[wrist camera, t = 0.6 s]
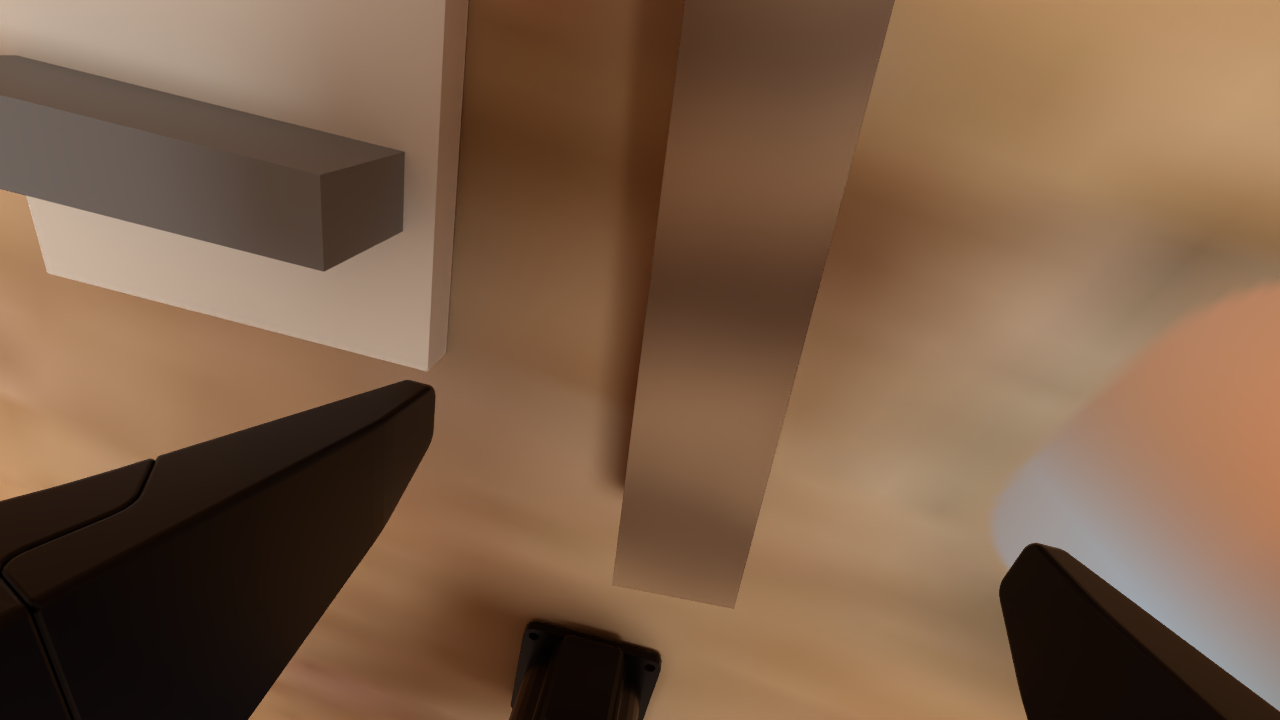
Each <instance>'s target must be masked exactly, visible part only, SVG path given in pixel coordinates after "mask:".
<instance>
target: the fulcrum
mask: <svg viewBox="0 0 1280 720" xmlns="http://www.w3.org/2000/svg"><path fill="white" fill-rule="evenodd" d="M468 5H469V0H0V189H2V190H6V191H10V192H14V193H18V194H22V195H26V197H27V201H28V204H29V208H30V212H31V215H32V219H33V222H34V226H35V230H36V233H37V237H38V241H39V244H40V248H41V252H42V255H43V259H44V262H45V266H46V270H47V273H49V274H53V275H57V276H60V277H64V278H68V279H72V280H76V281H80V282H84V283H87V284H91V285H95V286H99V287H103V288H107V289H111V290H114V291H118V292H122V293H126V294H130V295H134V296H138V297H141V298H145V299H149V300H153V301H157V302H161V303H165V304H168V305H172V306H176V307H180V308H184V309H188V310H192V311H195V312H199V313H203V314H207V315H211V316H215V317H219V318H222V319H226V320H230V321H234V322H238V323H242V324H246V325H249V326H253V327H257V328H261V329H265V330H269V331H272V332H276V333H280V334H284V335H288V336H292V337H296V338H299V339H303V340H307V341H311V342H315V343H319V344H323V345H326V346H330V347H334V348H338V349H342V350H346V351H350V352H353V353H357V354H361V355H365V356H369V357H373V358H377V359H380V360H384V361H388V362H392V363H396V364H400V365H404V366H407V367H411V368H415V369H419V370H423V371H427V372H428V371H429V370H430V369H431V368H432V367H433V366H434V365H435V364H436V363H437V362H438V361H439V360H440V359H441V358H442V357H443V356H444V355H445V354H446V349H447V333H448V317H449V302H450V286H451V270H452V255H453V239H454V224H455V208H456V192H457V177H458V161H459V146H460V130H461V114H462V99H463V83H464V67H465V52H466V36H467V21H468Z"/></svg>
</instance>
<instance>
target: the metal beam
mask: <svg viewBox="0 0 1280 720" xmlns="http://www.w3.org/2000/svg"><path fill="white" fill-rule="evenodd" d="M894 1H895V0H685V4H684V12H683V20H682V28H681V36H680V44H679V52H678V60H677V69H676V77H675V85H674V93H673V101H672V109H671V117H670V125H669V133H668V141H667V149H666V157H665V165H664V173H663V181H662V189H661V197H660V205H659V213H658V221H657V229H656V237H655V245H654V253H653V261H652V269H651V277H650V285H649V293H648V302H647V310H646V318H645V326H644V334H643V342H642V350H641V358H640V366H639V374H638V382H637V390H636V398H635V406H634V414H633V422H632V430H631V438H630V446H629V454H628V462H627V470H626V478H625V486H624V494H623V502H622V510H621V518H620V526H619V535H618V543H617V551H616V559H615V567H614V575H613V583H612V585H614V586H619V587H624V588H630V589H635V590H640V591H645V592H650V593H655V594H660V595H666V596H671V597H676V598H681V599H686V600H691V601H696V602H701V603H707V604H712V605H717V606H722V607H727V608H732V609H734V607H735V603H736V599H737V595H738V591H739V588H740V584H741V580H742V576H743V572H744V569H745V565H746V561H747V557H748V554H749V550H750V546H751V542H752V538H753V535H754V531H755V527H756V523H757V519H758V516H759V512H760V508H761V504H762V501H763V497H764V493H765V489H766V485H767V482H768V478H769V474H770V470H771V466H772V463H773V459H774V455H775V451H776V448H777V444H778V440H779V436H780V432H781V429H782V425H783V421H784V417H785V414H786V410H787V406H788V402H789V398H790V395H791V391H792V387H793V383H794V379H795V376H796V372H797V368H798V364H799V361H800V357H801V353H802V349H803V345H804V342H805V338H806V334H807V330H808V326H809V323H810V319H811V315H812V311H813V308H814V304H815V300H816V296H817V292H818V289H819V285H820V281H821V277H822V274H823V270H824V266H825V262H826V258H827V255H828V251H829V247H830V243H831V239H832V236H833V232H834V228H835V224H836V221H837V217H838V213H839V209H840V205H841V202H842V198H843V194H844V190H845V186H846V183H847V179H848V175H849V171H850V168H851V164H852V160H853V156H854V152H855V149H856V145H857V141H858V137H859V134H860V130H861V126H862V122H863V118H864V115H865V111H866V107H867V103H868V99H869V96H870V92H871V88H872V84H873V81H874V77H875V73H876V69H877V65H878V62H879V58H880V54H881V50H882V46H883V43H884V39H885V35H886V31H887V28H888V24H889V20H890V16H891V12H892V9H893V5H894Z"/></svg>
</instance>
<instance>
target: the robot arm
mask: <svg viewBox="0 0 1280 720" xmlns="http://www.w3.org/2000/svg"><path fill="white" fill-rule="evenodd" d="M434 414H435V390H434V388H433V387H432V386H430V385H427V384H423V383H419V382H415V381H411V380H404V381H401V382H398V383H395V384H391V385H388V386H385V387H382V388H378V389H375V390H372V391H369V392H365V393H362V394H359V395H356V396H352V397H349V398H346V399H343V400H339V401H336V402H333V403H330V404H326V405H323V406H320V407H317V408H313V409H310V410H307V411H304V412H300V413H297V414H294V415H290V416H287V417H284V418H281V419H277V420H274V421H271V422H268V423H264V424H261V425H258V426H255V427H251V428H248V429H245V430H242V431H238V432H235V433H232V434H229V435H225V436H222V437H219V438H216V439H212V440H209V441H206V442H203V443H199V444H196V445H193V446H190V447H186V448H183V449H180V450H177V451H173V452H170V453H167V454H164V455H160V456H158V457H157V459H156V460H154V459H147V460H144V461H140V462H137V463H134V464H131V465H128V466H124V467H121V468H118V469H115V470H111V471H108V472H104V473H101V474H98V475H94V476H91V477H87V478H84V479H80V480H77V481H74V482H70V483H67V484H63V485H60V486H56V487H52V488H49V489H45V490H41V491H37V492H33V493H30V494H26V495H22V496H18V497H14V498H10V499H7V500H3V501H0V720H248V719H249V718H250V716H251V715H252V713H253V712H254V711H255V709H256V708H257V706H258V705H259V703H260V702H261V701H262V699H263V698H264V696H265V695H266V694H267V692H268V691H269V689H270V688H271V687H272V685H273V684H274V682H275V681H276V680H277V678H278V677H279V675H280V674H281V673H282V671H283V670H284V668H285V667H286V666H287V664H288V663H289V661H290V660H291V659H292V657H293V656H294V654H295V653H296V652H297V650H298V649H299V647H300V646H301V644H302V643H303V642H304V640H305V639H306V637H307V636H308V635H309V633H310V632H311V630H312V629H313V628H314V626H315V625H316V623H317V622H318V621H319V619H320V618H321V616H322V615H323V614H324V612H325V611H326V609H327V608H328V607H329V605H330V604H331V602H332V601H333V600H334V598H335V597H336V595H337V594H338V593H339V591H340V590H341V588H342V587H343V585H344V584H345V583H346V581H347V580H348V578H349V577H350V576H351V574H352V573H353V571H354V570H355V569H356V567H357V566H358V564H359V563H360V562H361V560H362V559H363V557H364V556H365V555H366V553H367V552H368V550H369V549H370V548H371V546H372V545H373V543H374V542H375V540H376V539H377V537H378V536H379V534H380V533H381V531H382V530H383V528H384V527H385V525H386V523H387V522H388V520H389V518H390V516H391V515H392V513H393V511H394V509H395V507H396V506H397V504H398V502H399V500H400V498H401V497H402V495H403V493H404V491H405V489H406V487H407V486H408V484H409V482H410V480H411V478H412V477H413V475H414V473H415V471H416V469H417V467H418V466H419V464H420V462H421V460H422V458H423V457H424V455H425V453H426V451H427V449H428V447H429V445H430V443H431V440H432V436H433V430H434ZM999 597H1000V603H1001V607H1002V612H1003V617H1004V621H1005V626H1006V631H1007V635H1008V640H1009V645H1010V649H1011V654H1012V659H1013V663H1014V668H1015V672H1016V677H1017V682H1018V686H1019V690H1020V694H1021V698H1022V702H1023V705H1024V709H1025V712H1026V716H1027V719H1028V720H1280V712H1279V711H1278V710H1277V709H1275V708H1274V707H1273V706H1271V705H1270V704H1269V703H1268V702H1266V701H1265V700H1263V699H1262V698H1261V697H1260V696H1258V695H1257V694H1255V693H1254V692H1253V691H1252V690H1250V689H1249V688H1248V687H1246V686H1245V685H1244V684H1242V683H1241V682H1240V681H1238V680H1237V679H1235V678H1234V677H1233V676H1232V675H1230V674H1229V673H1227V672H1226V671H1225V670H1224V669H1222V668H1221V667H1219V666H1218V665H1217V664H1215V663H1214V662H1213V661H1211V660H1210V659H1209V658H1207V657H1206V656H1205V655H1203V654H1202V653H1201V652H1199V651H1198V650H1197V649H1195V648H1194V647H1193V646H1191V645H1190V644H1189V643H1187V642H1186V641H1185V640H1183V639H1182V638H1181V637H1179V636H1178V635H1176V634H1175V633H1174V632H1173V631H1171V630H1170V629H1169V628H1167V627H1166V626H1165V625H1163V624H1162V623H1161V622H1159V621H1158V620H1157V619H1155V618H1154V617H1153V616H1151V615H1150V614H1149V613H1147V612H1146V611H1144V610H1143V609H1142V608H1141V607H1139V606H1138V605H1137V604H1135V603H1134V602H1133V601H1131V600H1130V599H1129V598H1127V597H1126V596H1125V595H1123V594H1122V593H1121V592H1119V591H1118V590H1117V589H1115V588H1114V587H1113V586H1111V585H1110V584H1109V583H1107V582H1106V581H1105V580H1103V579H1102V578H1100V577H1099V576H1098V575H1097V574H1095V573H1094V572H1093V571H1091V570H1090V569H1089V568H1087V567H1086V566H1085V565H1083V564H1082V563H1081V562H1079V561H1078V560H1076V559H1075V558H1074V557H1072V556H1071V555H1070V554H1069V553H1067V552H1066V551H1064V550H1061V549H1058V548H1055V547H1051V546H1047V545H1043V544H1039V543H1032V544H1029V545H1028V546H1026V547H1025V548H1024V549H1023V551H1022V552H1021V554H1020V555H1019V557H1018V558H1017V560H1016V561H1015V562H1014V564H1013V565H1012V567H1011V568H1010V569H1009V571H1008V572H1007V574H1006V575H1005V577H1004V578H1003V580H1002V582H1001V585H1000V590H999ZM660 670H661V658H660V657H659V656H658V655H656V654H654V653H650V652H647V651H643V650H639V649H636V648H632V647H628V646H625V645H621V644H617V643H614V642H610V641H606V640H602V639H599V638H595V637H591V636H588V635H584V634H580V633H577V632H573V631H569V630H565V629H562V628H558V627H554V626H551V625H547V624H543V623H540V622H530V623H528V624H527V626H526V628H525V631H524V634H523V640H522V645H521V651H520V656H519V662H518V668H517V673H516V679H515V684H514V690H513V696H512V701H511V707H512V712H511V715H510V718H509V720H643V718H644V715H645V712H646V710H647V707H648V704H649V701H650V698H651V696H652V693H653V690H654V687H655V684H656V682H657V679H658V676H659V673H660Z"/></svg>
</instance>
